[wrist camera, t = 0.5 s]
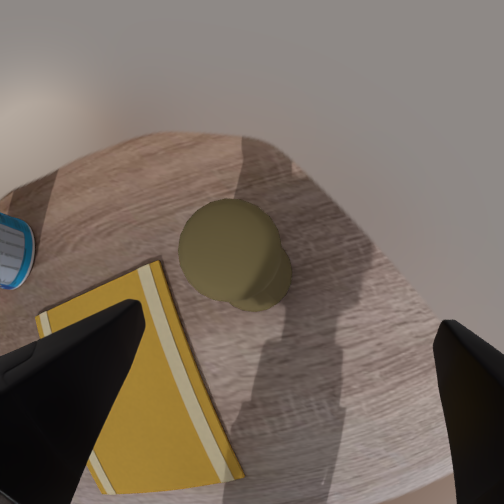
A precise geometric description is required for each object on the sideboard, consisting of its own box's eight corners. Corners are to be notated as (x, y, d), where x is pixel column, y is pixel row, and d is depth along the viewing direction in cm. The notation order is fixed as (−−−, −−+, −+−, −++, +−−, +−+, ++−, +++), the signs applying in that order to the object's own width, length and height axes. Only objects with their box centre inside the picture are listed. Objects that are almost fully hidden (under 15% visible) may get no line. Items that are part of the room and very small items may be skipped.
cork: (206, 252, 26) (147, 210, 15) (275, 224, 26) (260, 162, 15) (230, 322, 25) (182, 328, 14) (303, 295, 24) (310, 280, 13)
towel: (245, 475, 22) (244, 478, 21) (103, 492, 23) (101, 494, 22) (160, 260, 26) (157, 259, 26) (37, 317, 27) (34, 316, 27)
